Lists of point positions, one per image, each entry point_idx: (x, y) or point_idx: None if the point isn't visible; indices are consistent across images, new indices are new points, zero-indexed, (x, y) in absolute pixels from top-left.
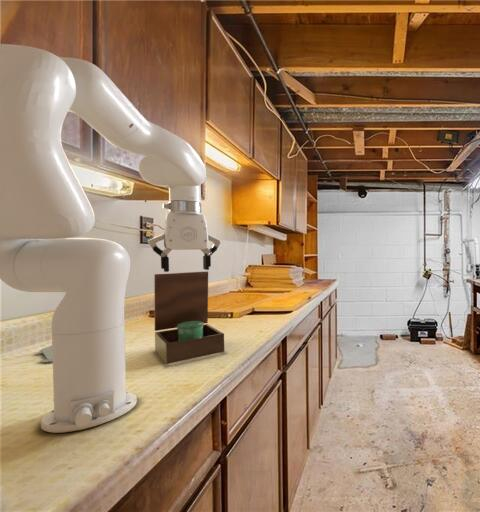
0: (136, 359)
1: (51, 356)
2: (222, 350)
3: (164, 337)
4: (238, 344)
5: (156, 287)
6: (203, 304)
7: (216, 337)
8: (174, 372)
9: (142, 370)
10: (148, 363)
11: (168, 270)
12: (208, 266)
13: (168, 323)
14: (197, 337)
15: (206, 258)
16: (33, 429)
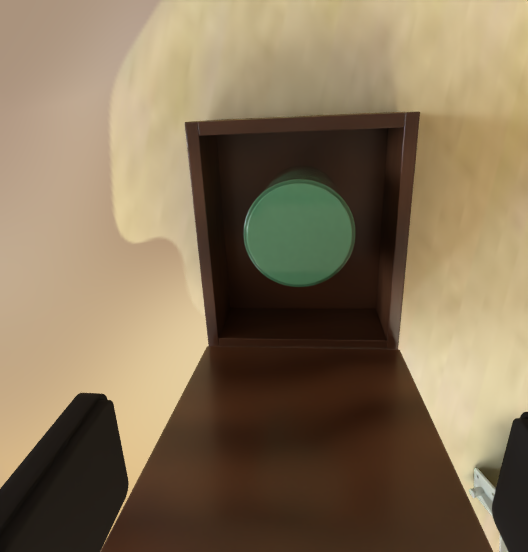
0: (446, 275)
1: None
2: (209, 120)
3: (364, 328)
4: (139, 209)
5: (458, 496)
6: (202, 394)
7: (219, 120)
8: (395, 22)
9: (465, 133)
10: (431, 201)
11: (526, 420)
12: (66, 414)
13: (355, 359)
14: (283, 177)
15: (15, 520)
16: None
